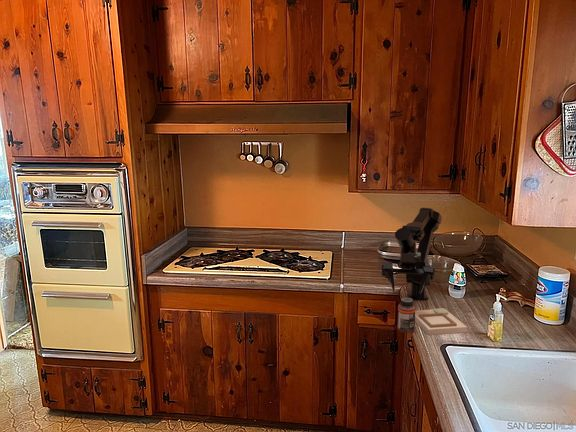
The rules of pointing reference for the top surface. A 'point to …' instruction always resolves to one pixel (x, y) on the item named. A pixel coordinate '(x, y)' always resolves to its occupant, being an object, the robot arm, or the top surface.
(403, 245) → the robot arm
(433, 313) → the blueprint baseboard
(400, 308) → the supplement bottle
